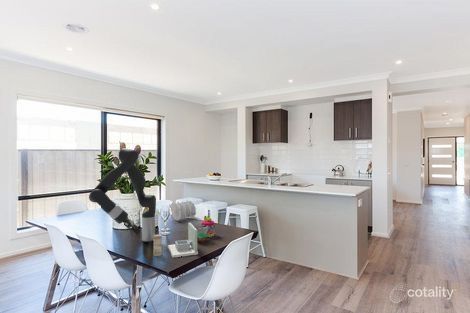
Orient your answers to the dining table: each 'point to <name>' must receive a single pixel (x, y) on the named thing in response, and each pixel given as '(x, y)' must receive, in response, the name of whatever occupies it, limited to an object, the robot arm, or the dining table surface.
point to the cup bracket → (185, 244)
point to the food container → (202, 234)
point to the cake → (210, 225)
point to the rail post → (157, 245)
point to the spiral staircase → (183, 210)
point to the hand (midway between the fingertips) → (138, 231)
